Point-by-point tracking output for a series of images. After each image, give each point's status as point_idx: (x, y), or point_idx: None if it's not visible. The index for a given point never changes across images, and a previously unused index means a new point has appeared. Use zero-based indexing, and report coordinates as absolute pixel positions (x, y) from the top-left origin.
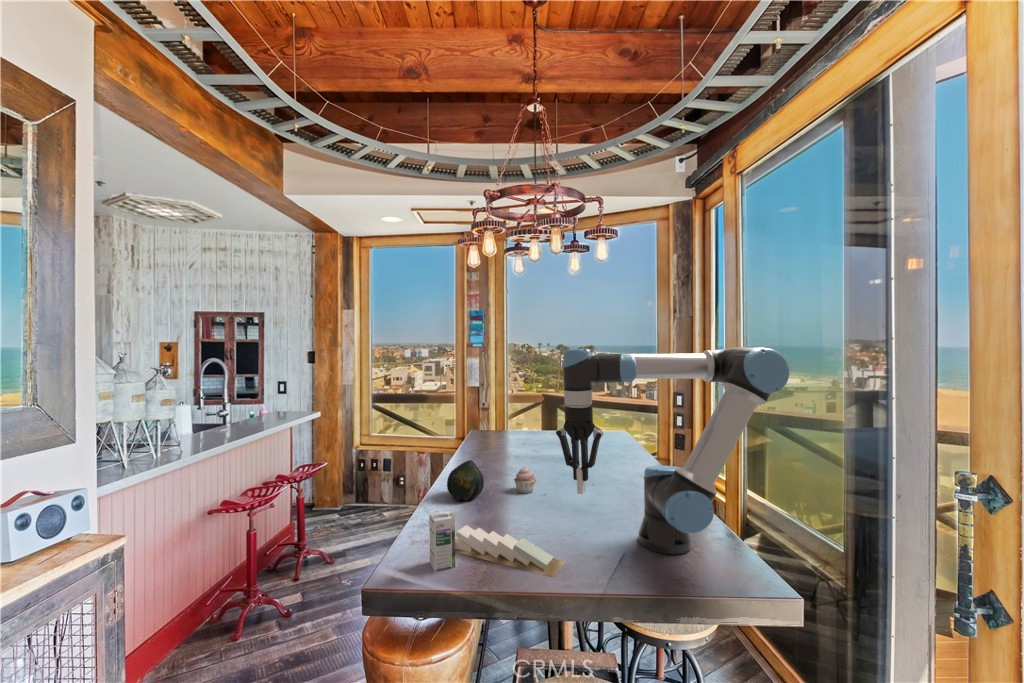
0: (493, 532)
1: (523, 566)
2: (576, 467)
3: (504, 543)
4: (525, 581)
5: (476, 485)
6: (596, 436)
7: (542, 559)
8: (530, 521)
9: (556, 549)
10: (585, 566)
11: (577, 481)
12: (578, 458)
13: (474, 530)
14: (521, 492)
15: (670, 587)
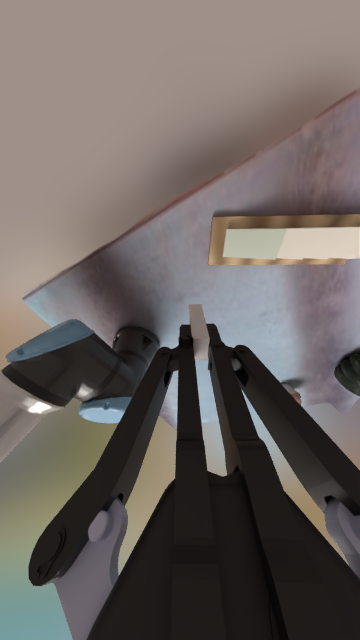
0: (326, 255)
1: (257, 224)
2: (210, 343)
3: (302, 231)
4: (247, 196)
5: (354, 372)
6: (79, 526)
7: (234, 236)
8: (266, 338)
9: (226, 294)
10: (187, 272)
11: (202, 318)
12: (212, 378)
13: (357, 257)
14: (285, 383)
15: (100, 270)
